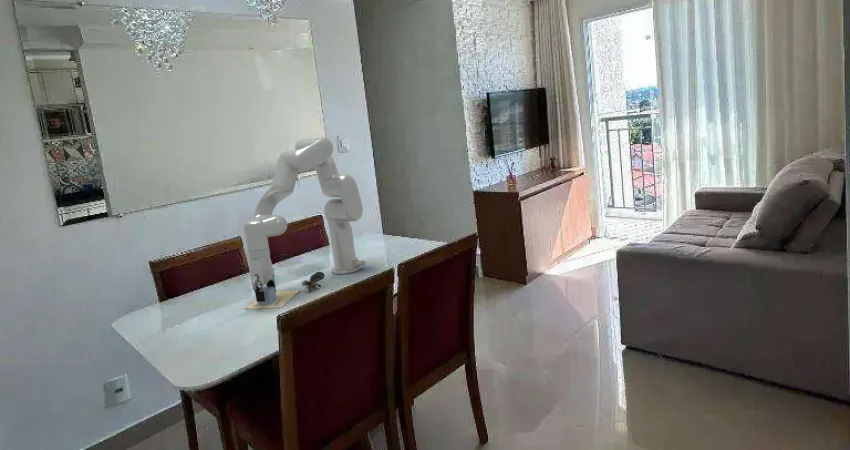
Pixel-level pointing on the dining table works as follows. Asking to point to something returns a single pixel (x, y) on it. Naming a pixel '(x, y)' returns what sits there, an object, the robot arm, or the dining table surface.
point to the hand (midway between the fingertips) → (266, 296)
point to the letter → (279, 303)
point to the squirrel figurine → (314, 281)
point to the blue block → (268, 295)
